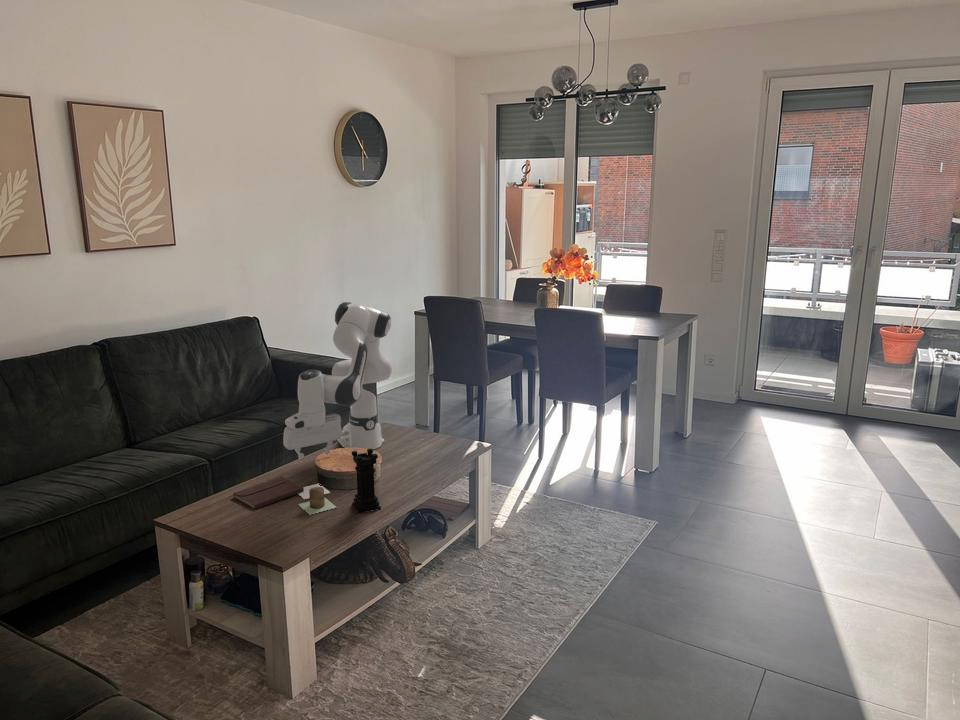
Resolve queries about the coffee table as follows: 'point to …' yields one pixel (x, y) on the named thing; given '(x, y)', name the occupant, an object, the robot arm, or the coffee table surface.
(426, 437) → the coffee table surface
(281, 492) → the notebook
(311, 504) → the brown cylinder
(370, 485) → the chess piece
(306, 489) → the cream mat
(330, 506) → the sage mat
